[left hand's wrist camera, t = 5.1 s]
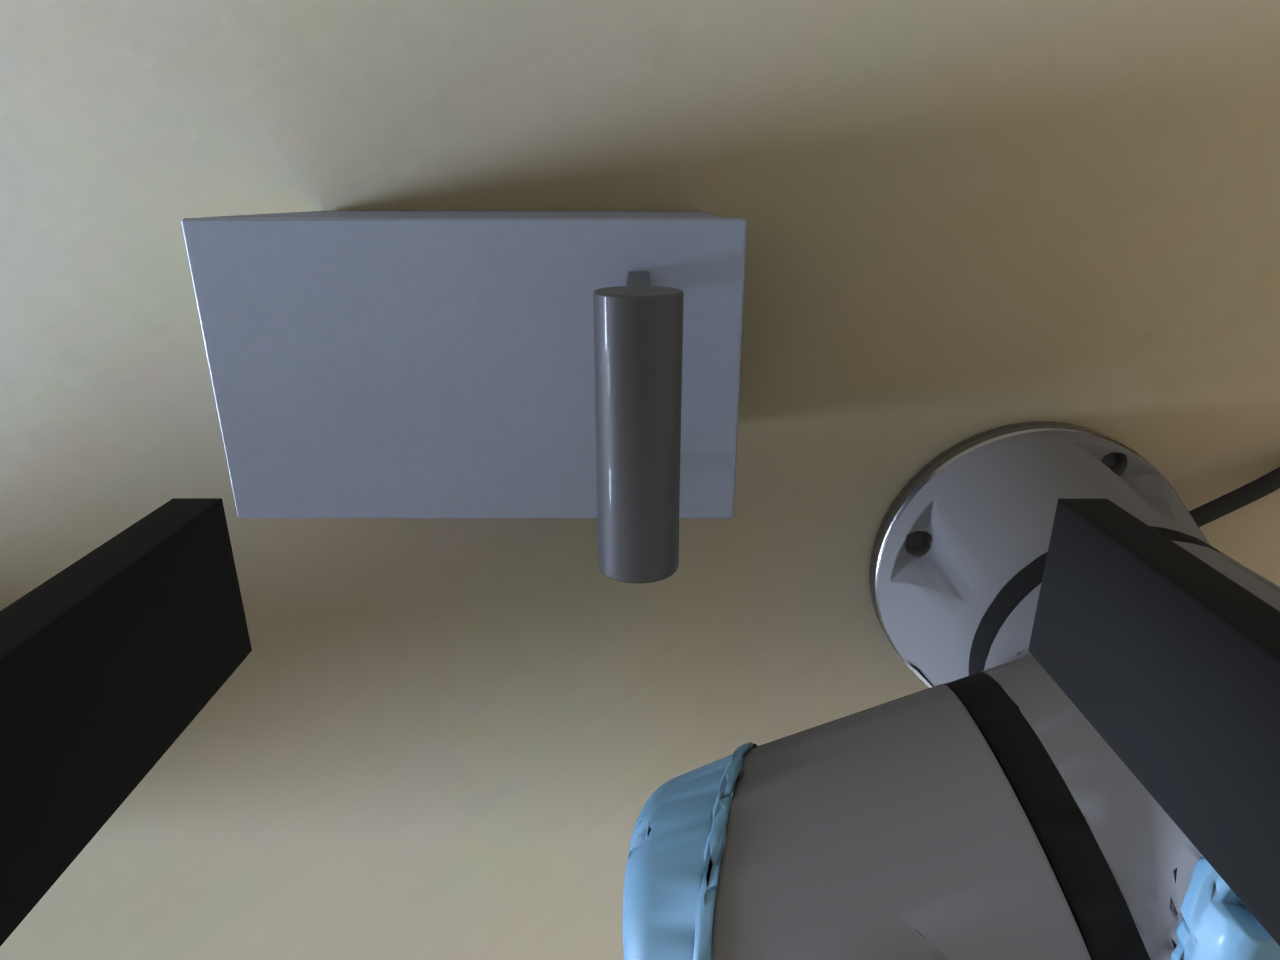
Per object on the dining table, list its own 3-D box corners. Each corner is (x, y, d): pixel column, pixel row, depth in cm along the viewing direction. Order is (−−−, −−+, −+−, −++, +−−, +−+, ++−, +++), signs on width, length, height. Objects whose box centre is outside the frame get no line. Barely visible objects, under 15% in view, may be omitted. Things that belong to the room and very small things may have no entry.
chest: (701, 211, 35) (725, 218, 25) (695, 427, 38) (714, 505, 29) (322, 210, 35) (201, 217, 25) (350, 426, 38) (254, 505, 29)
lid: (742, 217, 25) (793, 229, 17) (729, 505, 29) (766, 632, 20) (200, 217, 25) (-13, 229, 17) (253, 505, 29) (96, 632, 20)
